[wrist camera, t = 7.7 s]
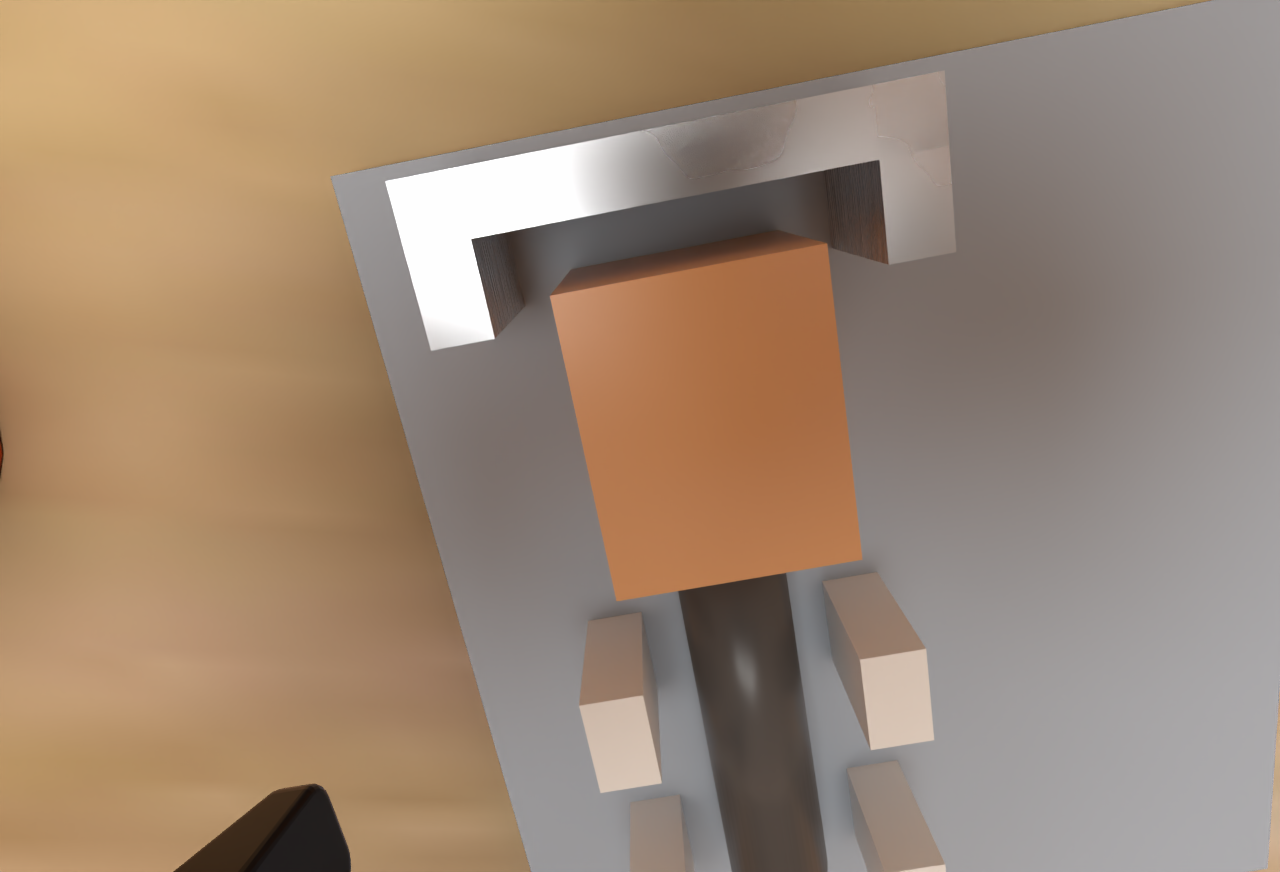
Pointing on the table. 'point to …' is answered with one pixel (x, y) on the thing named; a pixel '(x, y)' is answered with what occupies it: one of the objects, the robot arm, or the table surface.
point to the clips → (874, 682)
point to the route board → (937, 464)
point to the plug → (723, 490)
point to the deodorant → (0, 454)
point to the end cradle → (683, 190)
